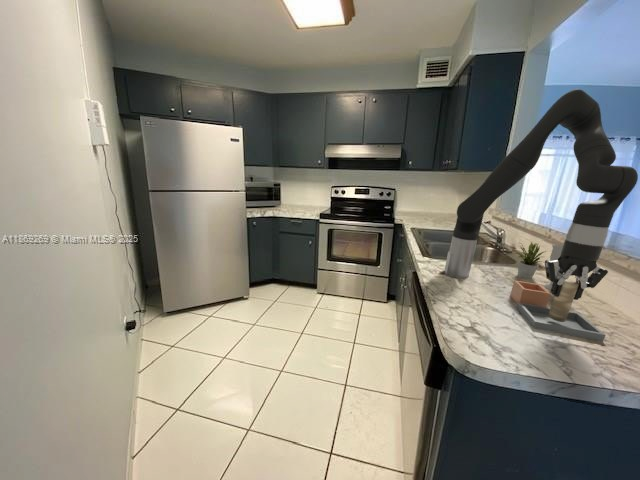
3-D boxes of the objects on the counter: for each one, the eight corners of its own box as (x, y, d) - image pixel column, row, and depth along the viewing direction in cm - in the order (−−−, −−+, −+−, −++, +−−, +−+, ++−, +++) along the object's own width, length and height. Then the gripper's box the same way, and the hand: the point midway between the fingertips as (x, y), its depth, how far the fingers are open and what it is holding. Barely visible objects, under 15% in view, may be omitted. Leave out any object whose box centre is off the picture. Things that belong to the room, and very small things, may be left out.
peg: (552, 320, 76) (564, 283, 72) (545, 313, 79) (557, 277, 76) (568, 323, 75) (582, 285, 71) (561, 316, 78) (573, 280, 75)
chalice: (566, 295, 98) (581, 251, 94) (546, 293, 100) (560, 249, 95) (553, 287, 105) (567, 245, 101) (534, 285, 107) (547, 244, 102)
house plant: (501, 266, 127) (510, 235, 122) (536, 273, 121) (546, 239, 116) (507, 276, 114) (517, 241, 110) (546, 284, 108) (558, 247, 104)
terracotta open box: (517, 307, 87) (523, 289, 85) (509, 297, 94) (514, 280, 92) (544, 312, 85) (550, 293, 83) (533, 302, 92) (539, 284, 90)
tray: (532, 330, 74) (535, 321, 73) (516, 310, 85) (518, 302, 85) (601, 344, 70) (605, 335, 69) (575, 321, 81) (578, 312, 80)
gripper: (560, 240, 69) (541, 297, 74) (628, 248, 65) (604, 308, 69) (546, 234, 76) (530, 287, 80) (607, 241, 72) (586, 296, 76)
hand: (564, 296), depth 75 cm, fingers closed on peg, 4 cm apart
